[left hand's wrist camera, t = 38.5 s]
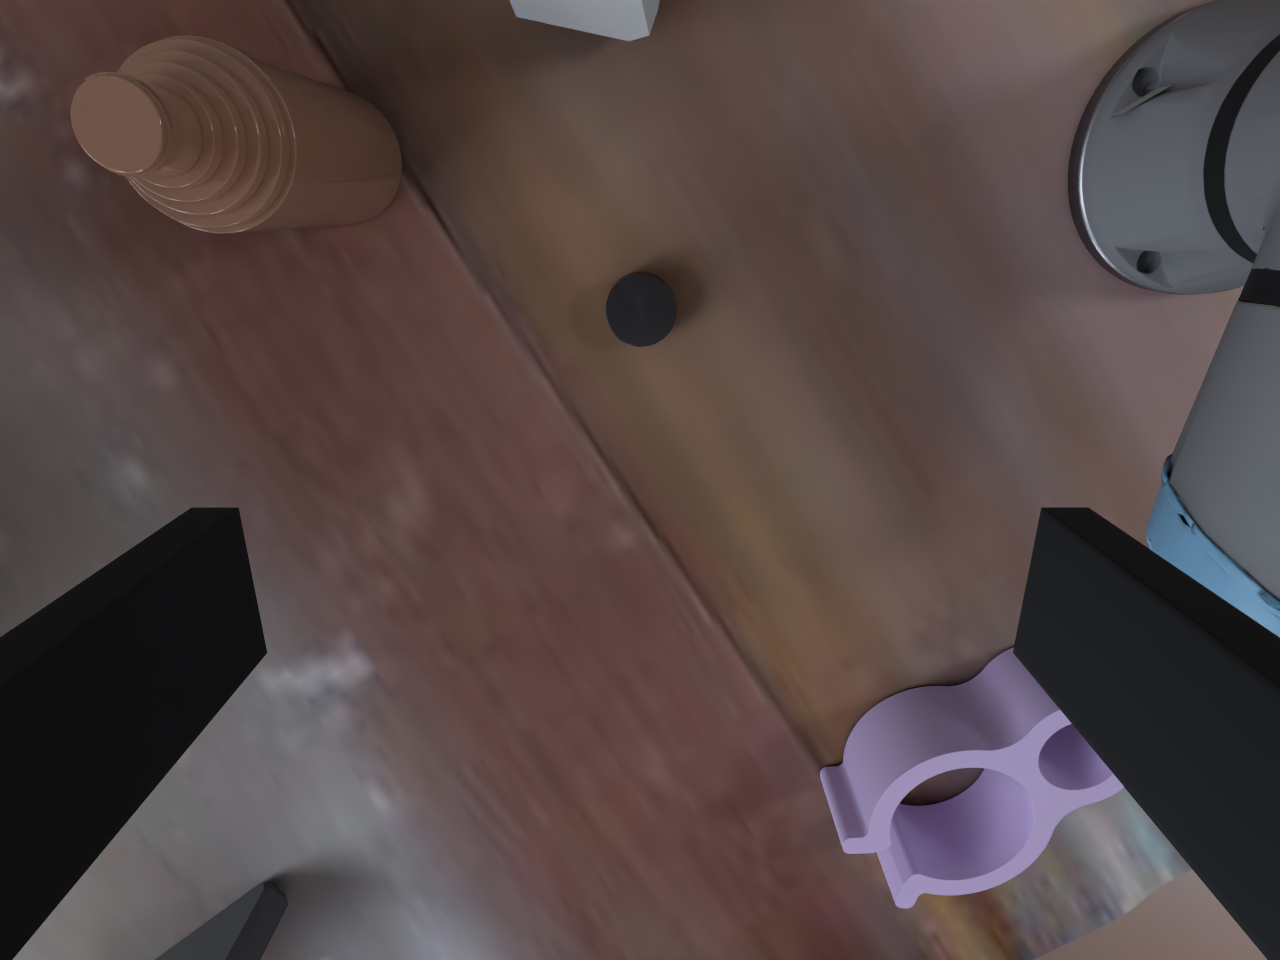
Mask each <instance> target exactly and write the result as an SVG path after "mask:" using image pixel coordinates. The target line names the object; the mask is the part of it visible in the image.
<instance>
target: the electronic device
mask: <svg viewBox="0 0 1280 960" xmlns="http://www.w3.org/2000/svg"><path fill="white" fill-rule="evenodd" d="M659 1H660V0H510V3H511V5H512V8H513V10H514V12H515V15H516V17H519V18H523V19H528V20H533V21H537V22H542V23H547V24H551V25H556V26H560V27H565V28H570V29H574V30H579V31H584V32H588V33H593V34H598V35H602V36H607V37H612V38H616V39H621V40H625V41H632V40H636V39H639V38H643V37H646V36H649V35H650V32H651V29H652V26H653V23H654V20H655V17H656V14H657V11H658V7H659Z"/></svg>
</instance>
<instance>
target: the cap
mask: <svg viewBox="0 0 1280 960" xmlns="http://www.w3.org/2000/svg"><path fill="white" fill-rule="evenodd" d="M675 318H676V304H675V300H674V297H673V294H672V292H671V290H670V288H669V287H668V285H667V284H666V283H665V282H664V281H663V280H662V279H660V278H659V277H657V276H655V275H653V274H650V273H645V272H637V273H632V274H629V275H626V276H625V277H623V278H621V279H620V280H619V281H618V282H617V283H616V284H615V285H614V286H613V288H612V289H611V291H610V294H609V296H608V299H607V303H606V319H607V322H608V325H609V327H610V329H611V331H612V332H613V333H614V335H615V336H616V337H617V338H619V339H620V340H621V341H623V342H624V343H627V344H629V345H632V346H638V347H644V346H650V345H653V344H655V343H657V342H659V341H661V340H662V339H663V338H664V337H666V335H667V334H668V333H669V332H670V330H671V329H672V327H673V325H674V322H675Z"/></svg>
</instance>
